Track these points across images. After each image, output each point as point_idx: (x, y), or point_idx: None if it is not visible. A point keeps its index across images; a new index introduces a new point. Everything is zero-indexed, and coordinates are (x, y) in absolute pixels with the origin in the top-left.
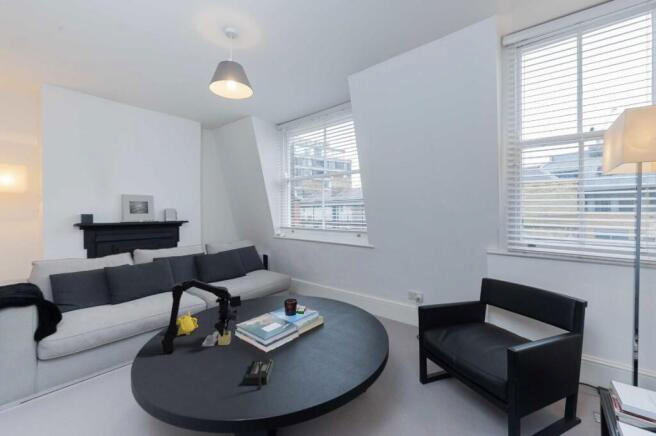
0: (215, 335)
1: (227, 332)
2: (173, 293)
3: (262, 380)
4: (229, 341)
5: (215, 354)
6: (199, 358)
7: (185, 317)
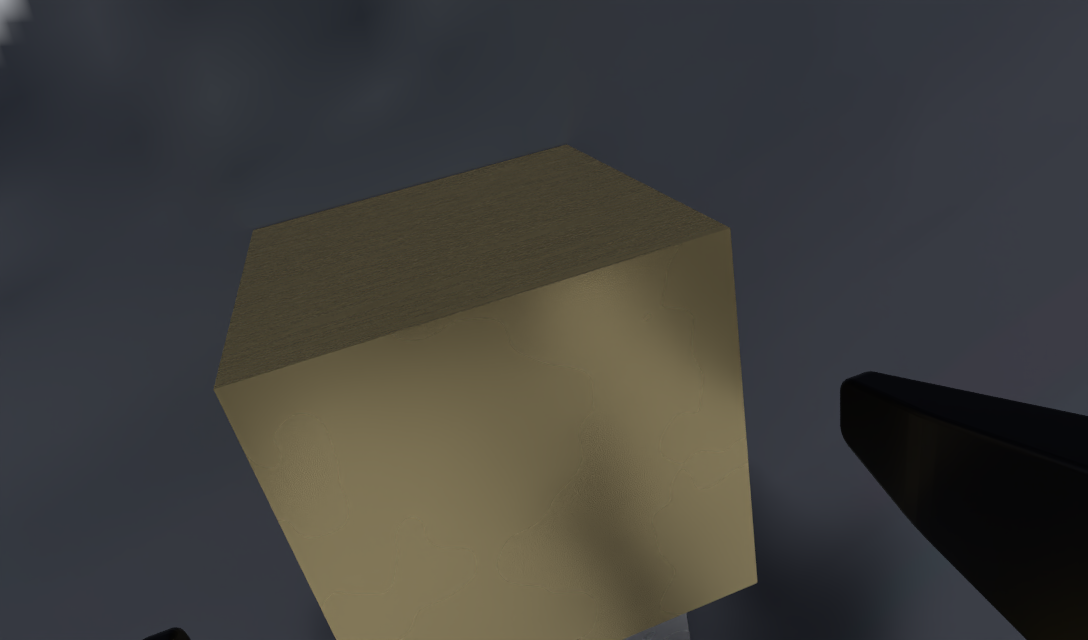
0: None
1: (453, 431)
2: None
3: None
4: (452, 187)
5: (997, 205)
6: (1066, 406)
7: None
